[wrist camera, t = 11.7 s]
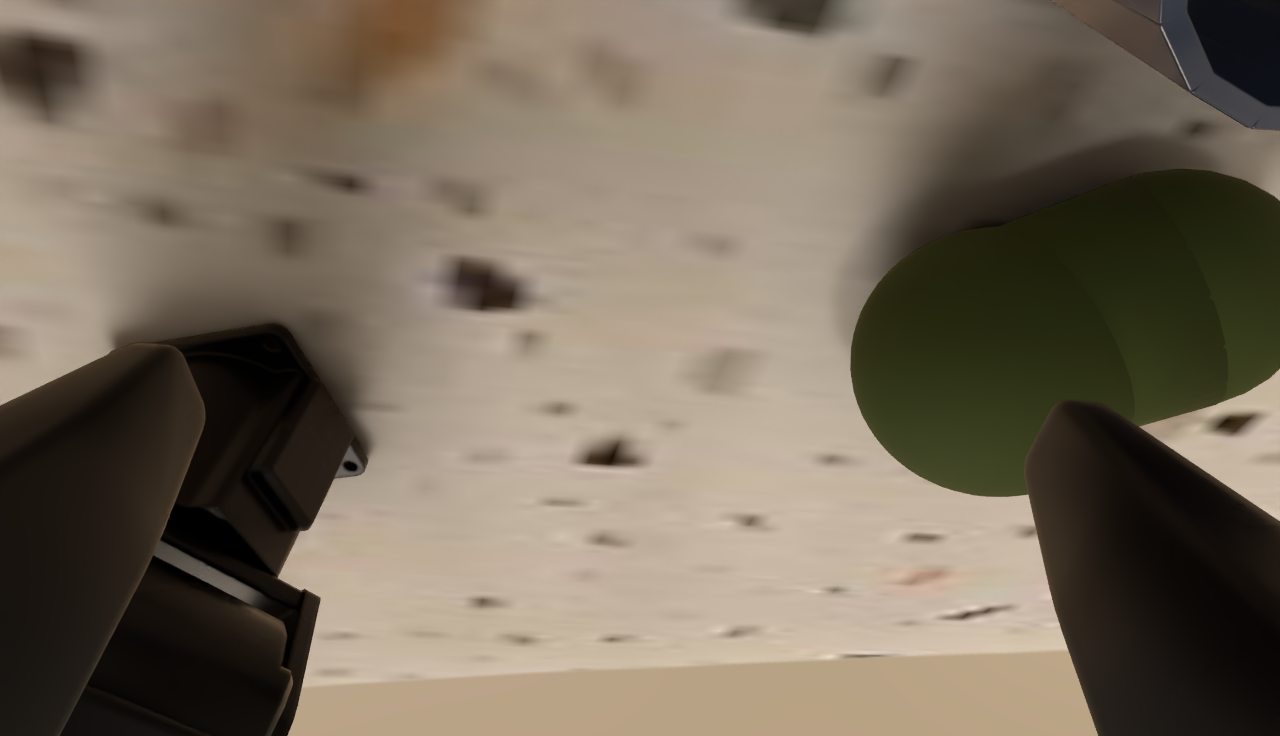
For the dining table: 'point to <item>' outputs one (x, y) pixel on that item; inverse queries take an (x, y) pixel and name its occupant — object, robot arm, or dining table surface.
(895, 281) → the avocado
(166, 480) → the robot arm
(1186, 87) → the blue coffee mug
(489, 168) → the dining table surface
